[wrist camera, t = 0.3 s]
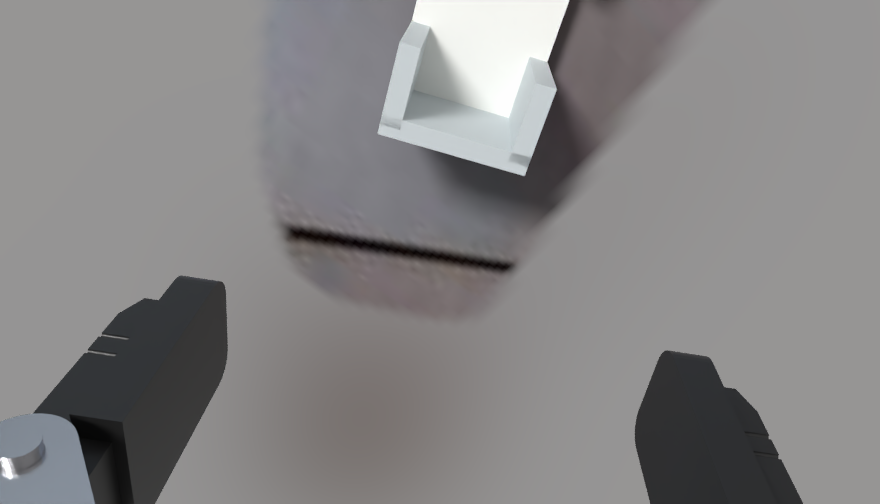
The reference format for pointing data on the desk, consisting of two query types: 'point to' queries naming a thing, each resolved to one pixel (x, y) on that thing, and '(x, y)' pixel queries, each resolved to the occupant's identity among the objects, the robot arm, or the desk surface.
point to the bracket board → (475, 79)
